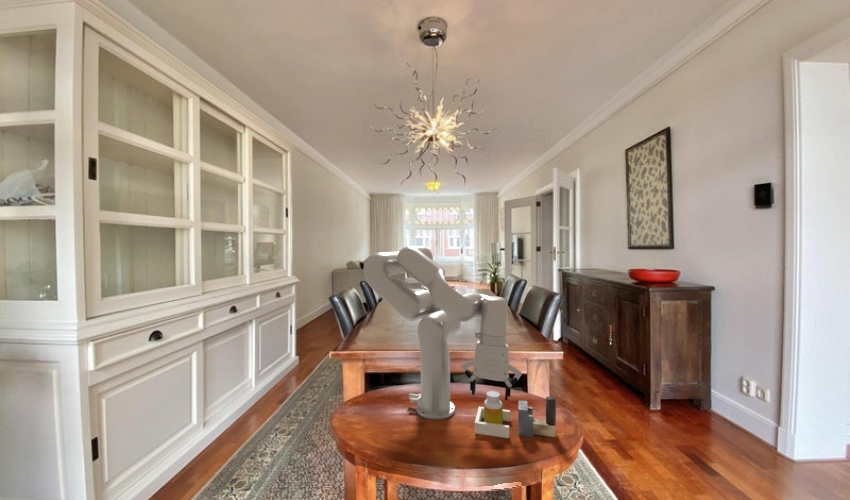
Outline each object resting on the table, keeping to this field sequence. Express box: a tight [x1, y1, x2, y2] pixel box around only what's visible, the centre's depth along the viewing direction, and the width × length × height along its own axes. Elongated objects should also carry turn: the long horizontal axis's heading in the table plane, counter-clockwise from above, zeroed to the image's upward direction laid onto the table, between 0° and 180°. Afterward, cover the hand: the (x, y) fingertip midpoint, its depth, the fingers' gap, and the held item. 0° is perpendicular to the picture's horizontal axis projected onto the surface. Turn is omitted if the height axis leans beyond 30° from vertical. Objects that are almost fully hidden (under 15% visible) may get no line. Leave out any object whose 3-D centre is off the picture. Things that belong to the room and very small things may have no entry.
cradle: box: [474, 406, 511, 439], centre depth 100 cm, size 10×10×3 cm
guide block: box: [517, 399, 534, 438], centre depth 97 cm, size 4×6×7 cm
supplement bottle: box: [483, 390, 504, 425], centre depth 99 cm, size 5×5×10 cm
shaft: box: [533, 396, 557, 438], centre depth 96 cm, size 8×3×10 cm, turn 74°
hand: (489, 395), depth 100 cm, fingers open, 9 cm apart
